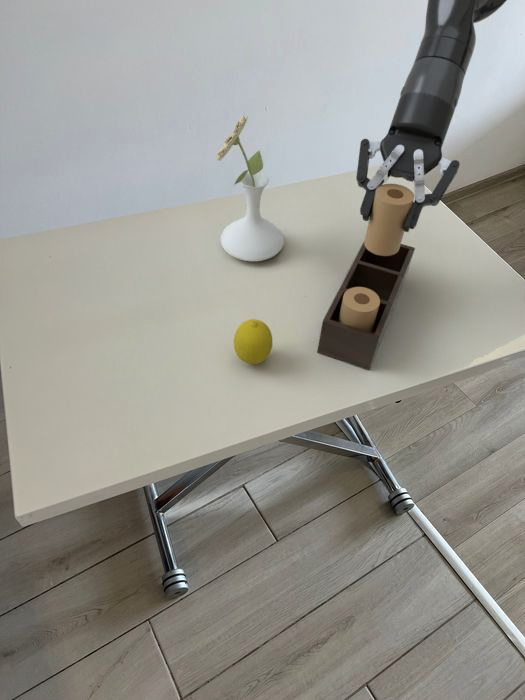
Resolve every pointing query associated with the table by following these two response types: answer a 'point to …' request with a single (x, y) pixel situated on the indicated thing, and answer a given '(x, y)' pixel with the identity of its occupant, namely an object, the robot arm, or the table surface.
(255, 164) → the flower in vase
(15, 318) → the table surface
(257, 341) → the lemon
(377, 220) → the towel roll
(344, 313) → the roll
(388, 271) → the rack
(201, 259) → the table surface
